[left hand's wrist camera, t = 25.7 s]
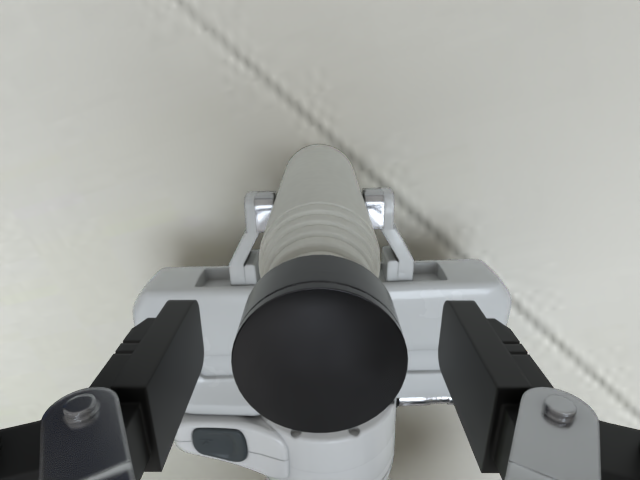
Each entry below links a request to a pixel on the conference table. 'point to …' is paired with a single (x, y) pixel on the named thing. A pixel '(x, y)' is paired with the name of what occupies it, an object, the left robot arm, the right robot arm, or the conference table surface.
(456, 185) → the conference table surface
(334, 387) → the cap
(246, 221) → the right robot arm
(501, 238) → the conference table surface
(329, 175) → the bottle
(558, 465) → the left robot arm
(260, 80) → the conference table surface
